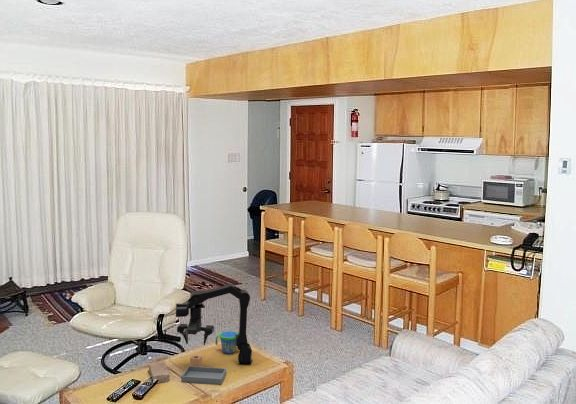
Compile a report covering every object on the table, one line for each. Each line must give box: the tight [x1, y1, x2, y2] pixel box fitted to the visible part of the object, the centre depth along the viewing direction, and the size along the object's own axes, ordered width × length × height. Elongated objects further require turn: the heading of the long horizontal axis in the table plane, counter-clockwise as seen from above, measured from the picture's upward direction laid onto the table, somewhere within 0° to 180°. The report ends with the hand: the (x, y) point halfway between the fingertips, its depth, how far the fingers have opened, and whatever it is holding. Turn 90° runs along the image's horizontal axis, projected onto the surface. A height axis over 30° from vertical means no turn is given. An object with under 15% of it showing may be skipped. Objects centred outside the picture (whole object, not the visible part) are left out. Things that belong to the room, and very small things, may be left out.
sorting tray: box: [180, 365, 227, 386], centre depth 263 cm, size 20×12×3 cm, turn 84°
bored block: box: [189, 354, 203, 367], centre depth 277 cm, size 5×5×5 cm
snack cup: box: [215, 330, 239, 354], centre depth 296 cm, size 16×10×10 cm
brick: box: [148, 360, 171, 384], centre depth 265 cm, size 17×8×5 cm, turn 22°
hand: (195, 344), depth 275 cm, fingers open, 9 cm apart
